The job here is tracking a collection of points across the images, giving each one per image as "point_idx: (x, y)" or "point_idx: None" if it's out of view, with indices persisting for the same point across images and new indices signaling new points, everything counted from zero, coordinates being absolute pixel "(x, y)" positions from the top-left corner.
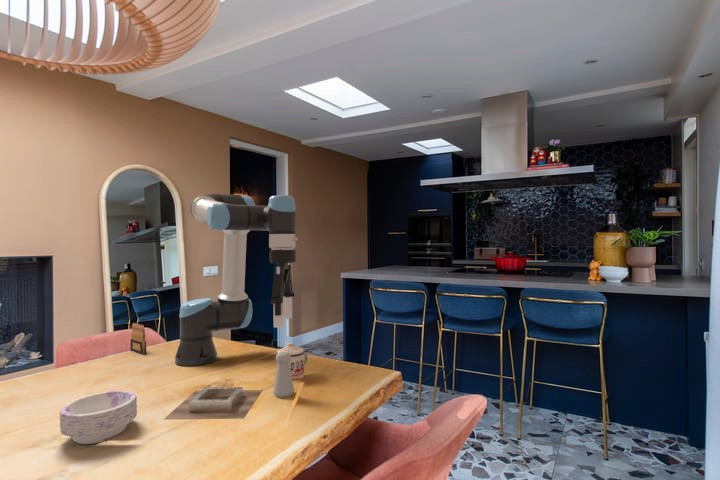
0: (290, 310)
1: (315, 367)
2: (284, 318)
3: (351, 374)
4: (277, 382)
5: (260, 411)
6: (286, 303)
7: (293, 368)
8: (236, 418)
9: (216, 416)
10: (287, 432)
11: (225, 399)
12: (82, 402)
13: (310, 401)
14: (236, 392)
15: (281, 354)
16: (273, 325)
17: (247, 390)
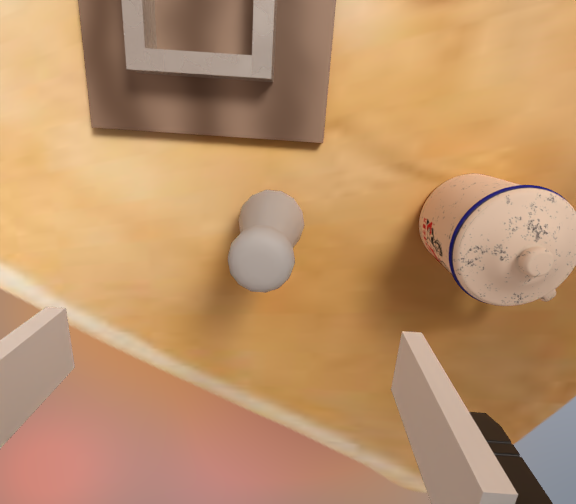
0: (409, 431)
1: (565, 295)
2: (401, 343)
3: None
4: (246, 213)
5: (174, 161)
6: (438, 459)
7: (434, 247)
8: (89, 104)
9: (98, 32)
10: (53, 248)
11: (144, 40)
12: None
13: (242, 290)
14: (212, 65)
15: (238, 259)
16: (37, 313)
17: (324, 86)
